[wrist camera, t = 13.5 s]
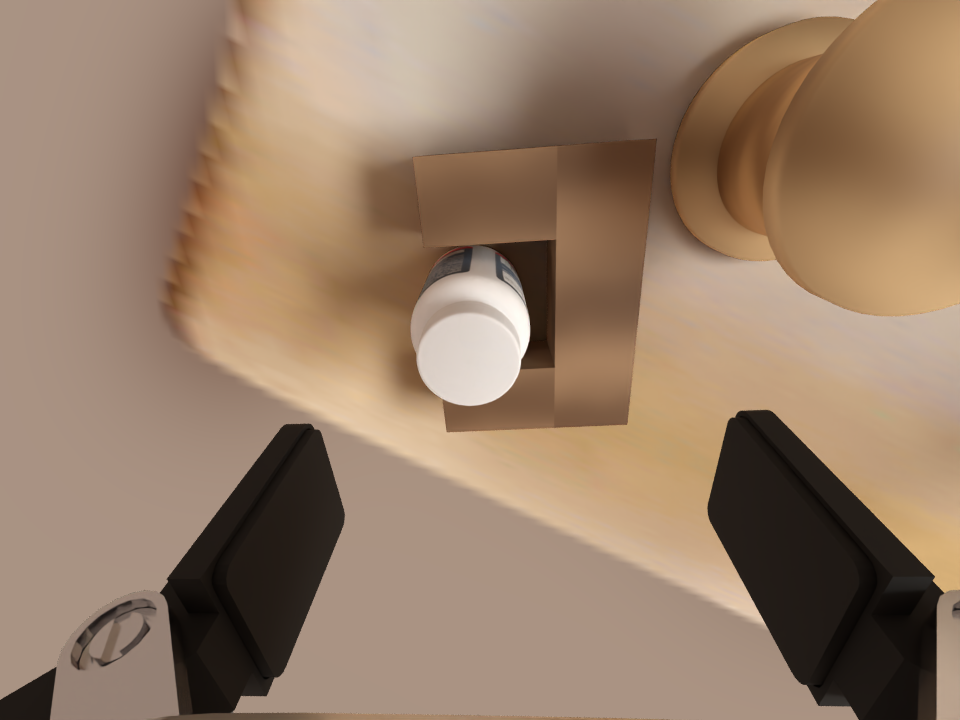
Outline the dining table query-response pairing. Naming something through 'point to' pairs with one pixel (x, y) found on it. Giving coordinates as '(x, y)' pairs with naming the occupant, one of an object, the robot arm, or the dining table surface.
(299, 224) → the dining table surface
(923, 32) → the wooden spool
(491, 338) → the pill bottle
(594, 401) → the notched board
